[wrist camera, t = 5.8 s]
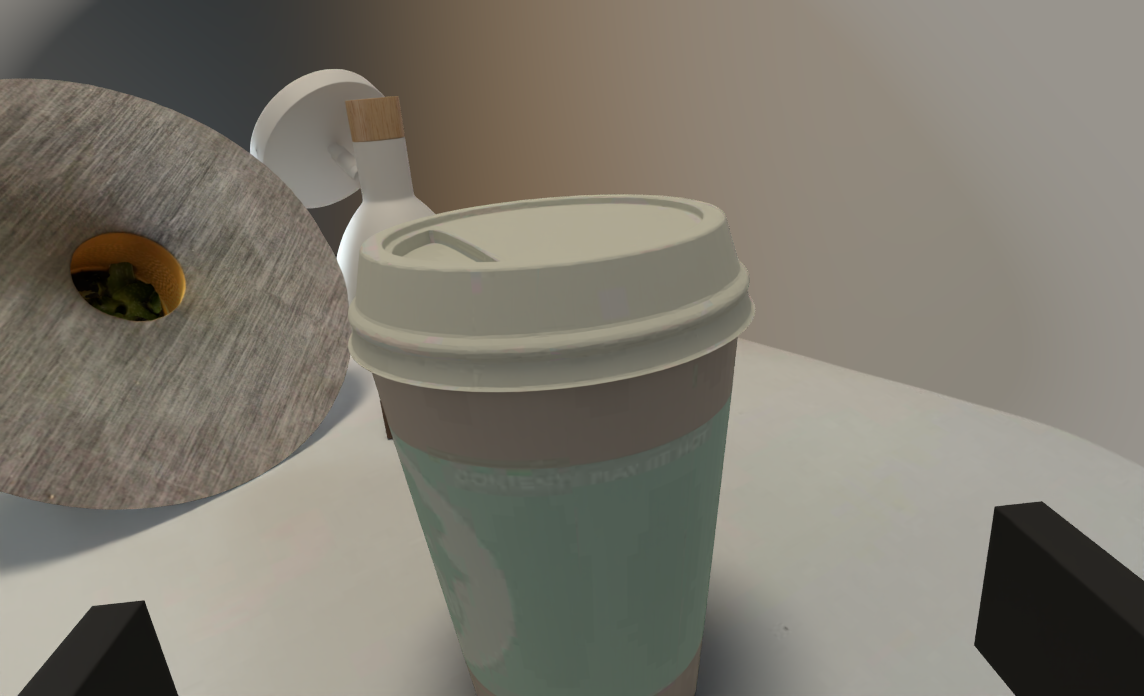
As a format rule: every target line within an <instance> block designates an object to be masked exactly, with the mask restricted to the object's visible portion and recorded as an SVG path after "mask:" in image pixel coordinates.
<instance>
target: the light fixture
mask: <svg viewBox="0 0 1144 696" xmlns="http://www.w3.org/2000/svg"><path fill="white" fill-rule="evenodd" d="M404 136H405V135H404V128H403V123H402V116H401V110H400V103H399V97H398V96H394V97H384V96H383V94H382V93H380V92H379V91H378V90H377V89H376V88H375V87H374V86H373V85H372V84H370V83H369V82H368V81H367V80H366V79H365V78H363V77H362V76H360V75H358V74H356V73H354V72H351V71H346V70H341V69H328V70H321V71H317V72H313V73H310V74H308V75H305V76H303V77H301V78H299V79H297V80H295V81H293V82H292V83H290V84H289V85H287V86H286V87H285V88H283V89H282V90H281V91H280V92H279V93H278V94H277V95H276V96H275V97H274V98H273V99H272V100H271V101H270V102H269V103H268V105H267V106H266V107H265V109H264V110H263V112H262V113H261V115H260V117H259V119H258V121H257V123H256V125H255V128H254V131H253V134H252V139H251V146H250V154H252V155H253V156H254V157H256V158H257V159H258V160H259V161H261V162H262V163H263V164H265V165H266V166H267V167H268V168H269V169H270V170H271V171H273V172H274V173H275V174H276V175H277V176H278V177H279V178H280V179H281V180H282V181H283V182H284V183H285V184H286V185H287V186H288V187H289V188H290V189H291V190H292V191H293V193H294V194H295V196H296V197H297V198H298V199H299V200H300V201H301V202H302V204H303V205H304V206H305V208H316V207H322V206H326V205H330V204H333V203H335V202H338V201H340V200H342V199H344V198H346V197H348V196H349V195H351V194H353V193H354V192H356V191H357V190H358V189H360V188H361V192H362V197H363V202H362V204H361V206H360V207H359V208H358V210H357V211H356V212H355V214H354V215H353V217H352V219H351V221H350V223H349V224H348V227H347V228H346V231H345V233H344V235H343V238H342V241H341V244H340V247H339V251H338V255H337V261H338V264H339V266H340V268H341V270H342V273H343V276H344V279H345V283H346V287H347V293H348V300H349V306H350V304H351V302H352V301H353V299H354V298H355V296H356V287H357V274H358V262H359V250H360V247H361V245H362V244H363V243H364V242H365V241H366V240H367V239H368V238H370V237H371V236H373V235H375V234H377V233H379V232H381V231H383V230H385V229H388V228H391V227H393V226H396V225H399V224H402V223H405V222H409V221H412V220H416V219H419V218H423V217H427V216H431V215H435V214H434V213H433V211H432V210H430V209H429V208H428V207H427V206H426V205H425V204H424V203H422V202H421V201H420V200H419V199H417V198H416V197H415V196H414V193H413V188H412V181H411V174H410V169H409V162H408V156H407V149H406V143H405V138H404Z"/></svg>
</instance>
